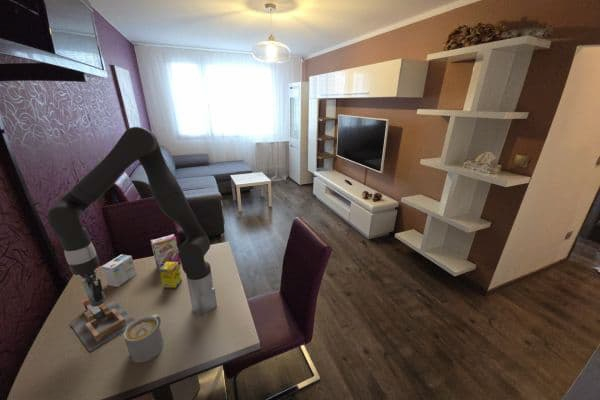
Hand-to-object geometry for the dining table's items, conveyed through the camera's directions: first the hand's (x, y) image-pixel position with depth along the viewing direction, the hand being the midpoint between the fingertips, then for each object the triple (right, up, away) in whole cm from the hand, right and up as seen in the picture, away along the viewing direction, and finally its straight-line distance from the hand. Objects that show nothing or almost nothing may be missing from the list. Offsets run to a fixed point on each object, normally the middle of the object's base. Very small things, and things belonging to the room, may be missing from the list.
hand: (96, 296), depth 89 cm
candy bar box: (+4, 0, +42) cm, 42 cm away
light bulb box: (-13, -4, +32) cm, 35 cm away
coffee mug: (+21, -17, -1) cm, 27 cm away
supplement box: (+13, -5, +29) cm, 32 cm away
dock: (-3, -13, +7) cm, 15 cm away
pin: (-10, -11, +11) cm, 19 cm away
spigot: (0, -2, +1) cm, 2 cm away
